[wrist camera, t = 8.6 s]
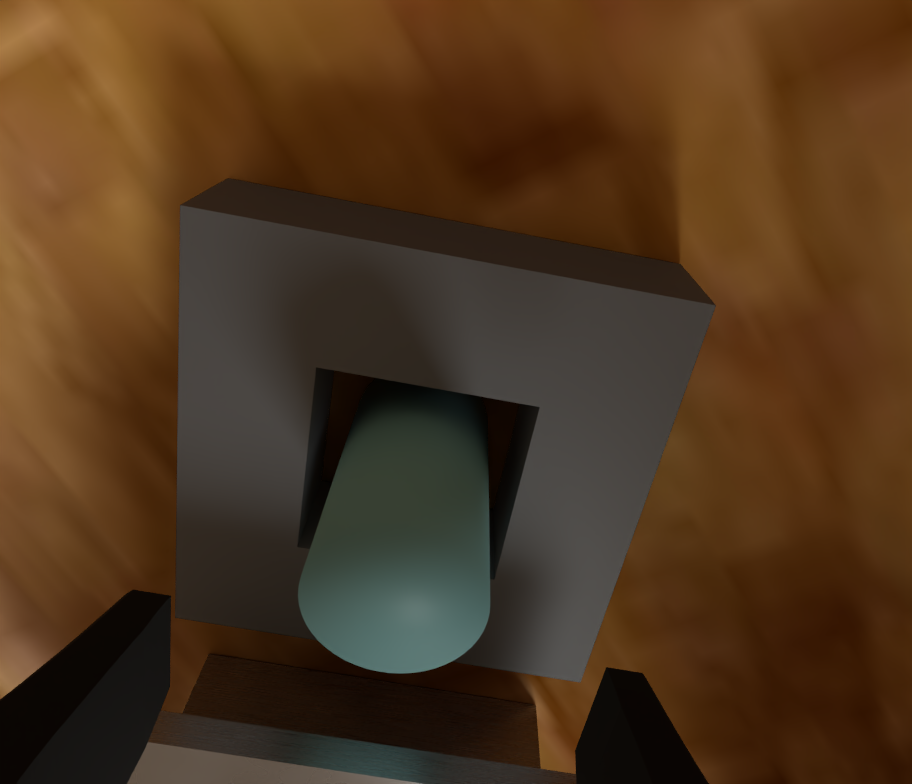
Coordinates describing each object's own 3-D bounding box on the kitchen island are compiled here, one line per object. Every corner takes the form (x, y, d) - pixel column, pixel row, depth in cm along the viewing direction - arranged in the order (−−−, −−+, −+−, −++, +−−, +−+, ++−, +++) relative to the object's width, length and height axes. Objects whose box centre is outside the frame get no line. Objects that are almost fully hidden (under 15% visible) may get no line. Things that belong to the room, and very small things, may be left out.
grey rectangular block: (572, 592, 22) (607, 811, 16) (529, 725, 25) (544, 958, 19) (213, 532, 22) (104, 735, 15) (207, 675, 24) (112, 897, 18)
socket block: (680, 264, 18) (715, 305, 15) (568, 604, 22) (580, 682, 20) (227, 178, 17) (180, 205, 14) (213, 546, 22) (175, 617, 19)
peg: (480, 484, 21) (479, 680, 14) (354, 473, 21) (298, 665, 14) (494, 370, 19) (500, 535, 13) (358, 357, 19) (297, 515, 13)
